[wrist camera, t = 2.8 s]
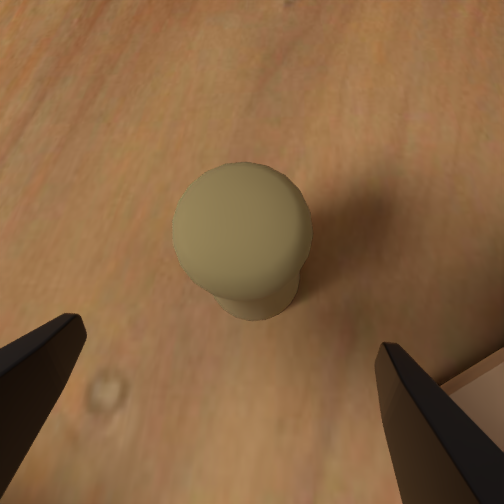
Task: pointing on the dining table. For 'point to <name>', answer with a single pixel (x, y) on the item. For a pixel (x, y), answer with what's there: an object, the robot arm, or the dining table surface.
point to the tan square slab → (482, 395)
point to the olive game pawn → (244, 238)
